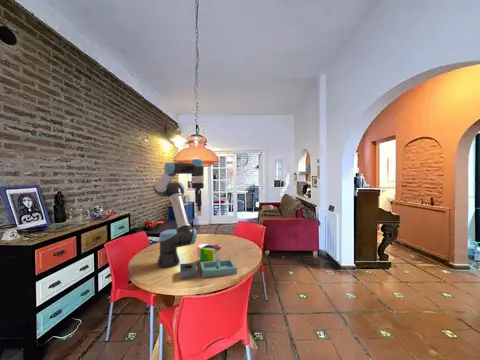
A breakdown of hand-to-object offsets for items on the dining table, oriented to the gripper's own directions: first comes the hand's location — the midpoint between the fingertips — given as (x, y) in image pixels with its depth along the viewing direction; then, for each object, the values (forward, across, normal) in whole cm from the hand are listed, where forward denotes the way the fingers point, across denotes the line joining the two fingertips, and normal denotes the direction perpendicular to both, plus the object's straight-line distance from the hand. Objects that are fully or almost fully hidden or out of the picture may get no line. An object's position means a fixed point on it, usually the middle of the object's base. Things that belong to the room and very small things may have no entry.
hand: (198, 214), depth 158 cm
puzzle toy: (+37, -12, +9) cm, 40 cm away
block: (+37, +8, -7) cm, 38 cm away
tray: (+37, +7, +12) cm, 39 cm away
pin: (+36, +7, +12) cm, 38 cm away
